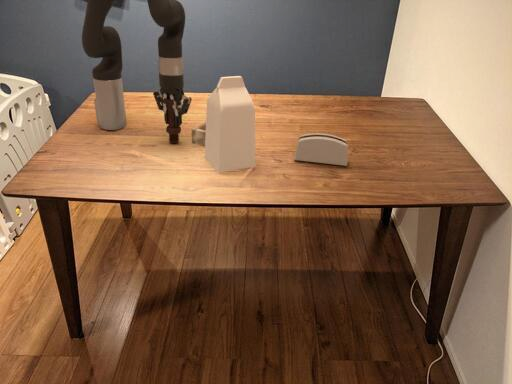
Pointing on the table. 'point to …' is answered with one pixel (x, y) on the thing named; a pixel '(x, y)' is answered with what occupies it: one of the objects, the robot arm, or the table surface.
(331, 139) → the napkin holder
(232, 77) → the milk
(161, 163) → the table surface
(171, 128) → the bolt
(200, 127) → the socket block
